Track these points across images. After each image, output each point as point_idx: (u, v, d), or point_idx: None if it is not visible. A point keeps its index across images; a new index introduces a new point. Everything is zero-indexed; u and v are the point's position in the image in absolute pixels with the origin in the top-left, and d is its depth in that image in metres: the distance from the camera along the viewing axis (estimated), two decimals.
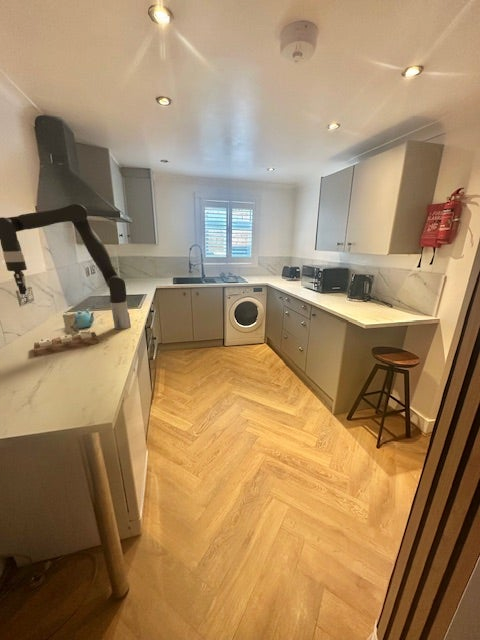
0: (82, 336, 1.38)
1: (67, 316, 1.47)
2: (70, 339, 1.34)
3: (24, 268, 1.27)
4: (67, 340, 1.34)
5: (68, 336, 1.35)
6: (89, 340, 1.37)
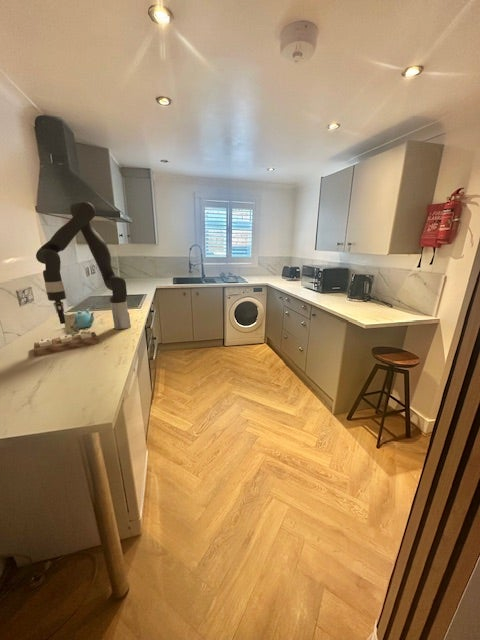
0: (82, 336, 1.38)
1: (67, 316, 1.47)
2: (70, 339, 1.34)
3: (64, 297, 1.29)
4: (67, 340, 1.34)
5: (68, 336, 1.35)
6: (89, 340, 1.37)
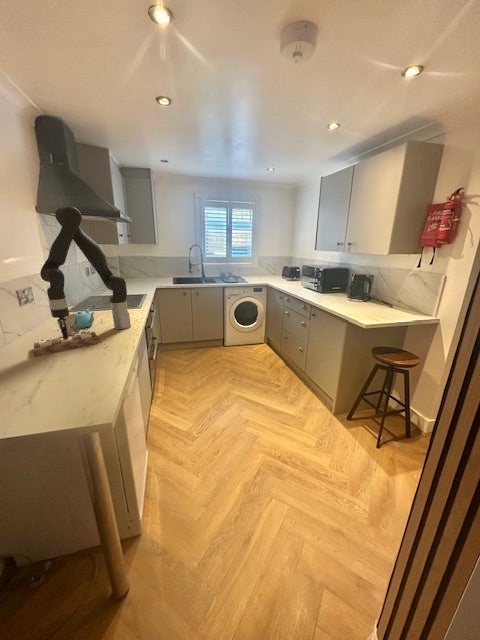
0: (82, 336, 1.38)
1: (67, 316, 1.47)
2: None
3: (67, 314, 1.31)
4: None
5: (69, 338, 1.36)
6: (89, 340, 1.37)
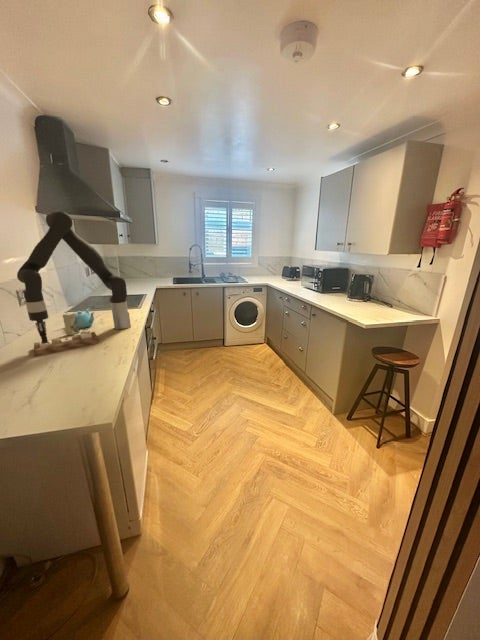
0: (82, 336, 1.38)
1: (67, 316, 1.47)
2: None
3: (46, 317, 1.26)
4: None
5: (69, 339, 1.36)
6: (89, 340, 1.37)
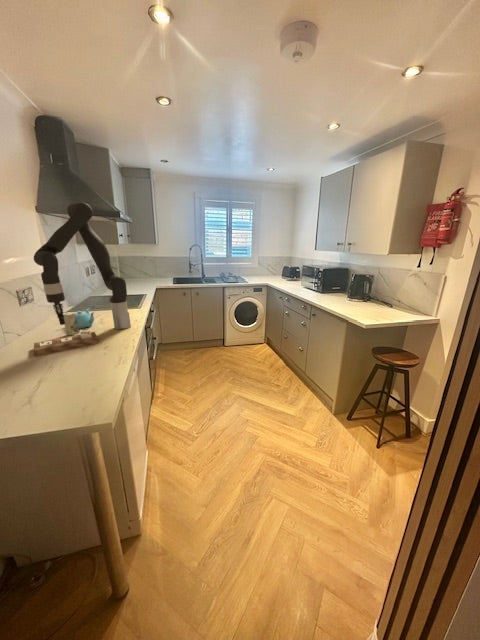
0: (82, 336, 1.38)
1: (67, 316, 1.47)
2: None
3: (63, 299, 1.29)
4: None
5: (69, 339, 1.36)
6: (89, 340, 1.37)
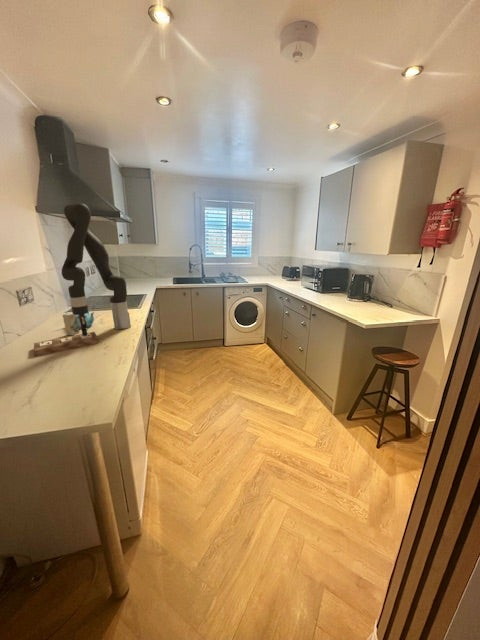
0: (82, 338, 1.38)
1: (67, 316, 1.47)
2: None
3: (87, 311, 1.36)
4: None
5: (69, 339, 1.36)
6: (89, 340, 1.37)
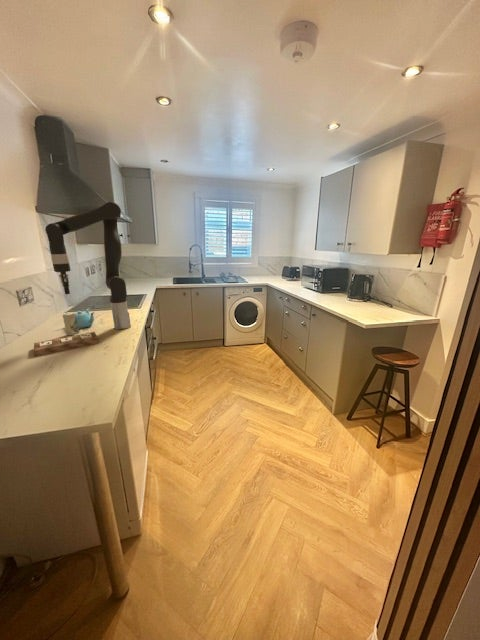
0: None
1: (67, 316, 1.47)
2: None
3: (69, 269, 1.39)
4: None
5: (69, 339, 1.36)
6: (89, 340, 1.37)
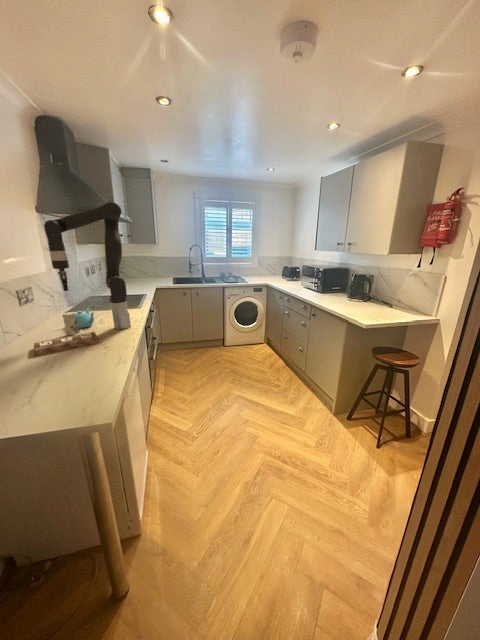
0: None
1: (67, 316, 1.47)
2: None
3: (67, 266, 1.39)
4: None
5: (69, 339, 1.36)
6: (89, 340, 1.37)
